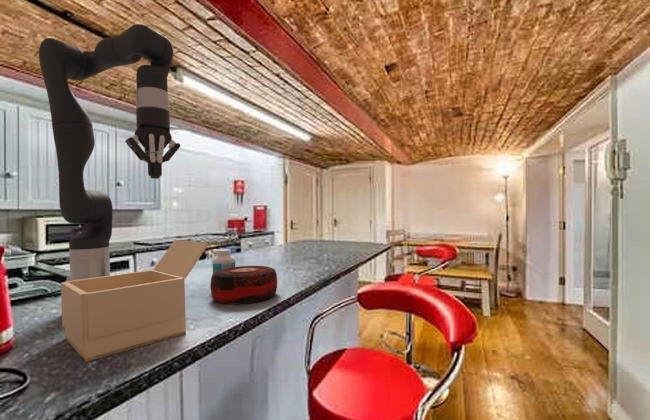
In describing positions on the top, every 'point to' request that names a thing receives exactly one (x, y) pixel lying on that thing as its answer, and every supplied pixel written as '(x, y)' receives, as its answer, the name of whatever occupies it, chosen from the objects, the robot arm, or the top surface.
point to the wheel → (243, 284)
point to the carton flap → (181, 257)
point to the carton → (122, 312)
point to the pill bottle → (223, 260)
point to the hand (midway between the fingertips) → (155, 178)
